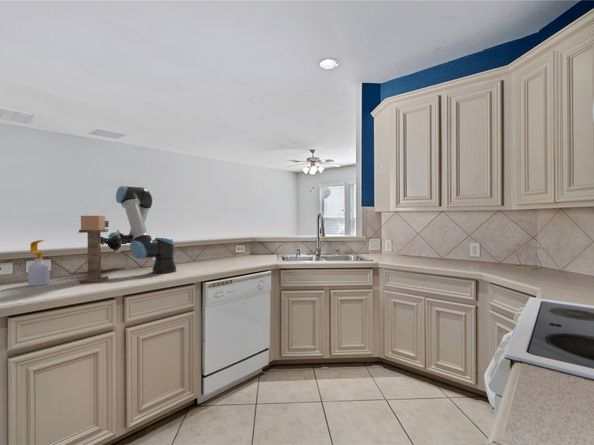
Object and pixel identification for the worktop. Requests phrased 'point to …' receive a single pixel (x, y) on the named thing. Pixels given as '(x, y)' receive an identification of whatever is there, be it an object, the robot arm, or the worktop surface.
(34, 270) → the soap bottle
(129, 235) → the robot arm
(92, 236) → the tall stand
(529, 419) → the worktop surface
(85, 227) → the handled block
